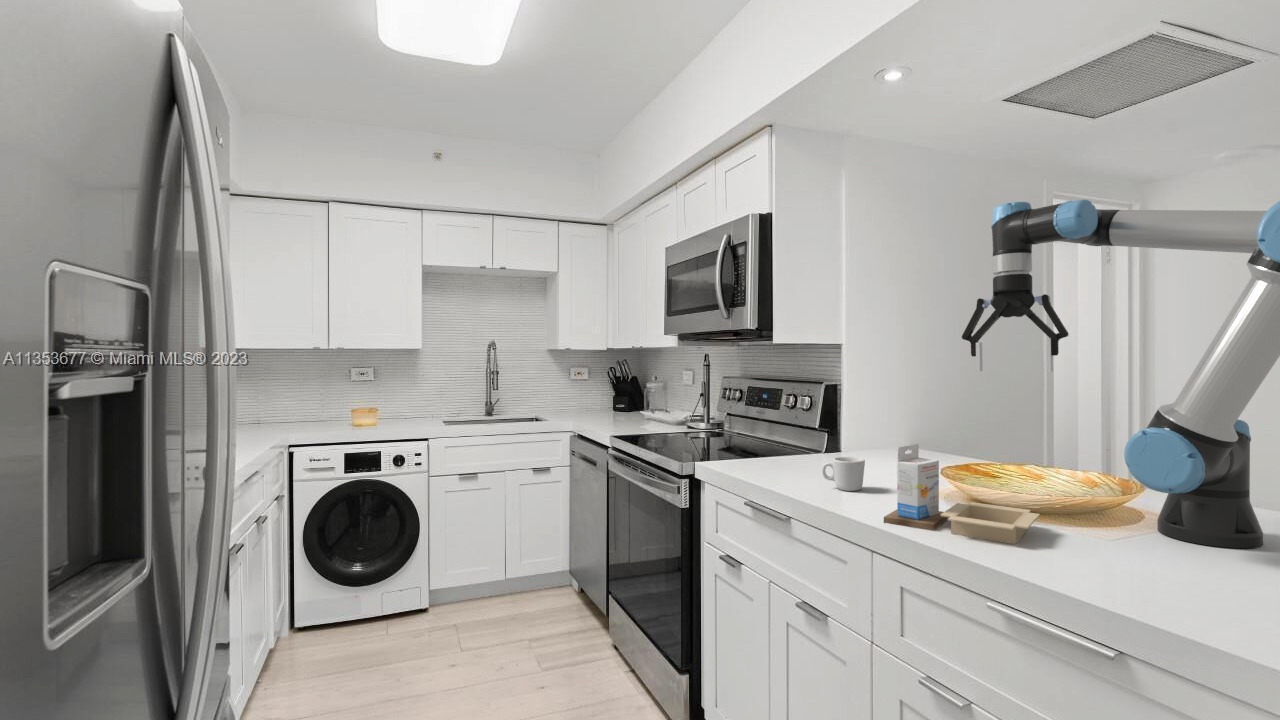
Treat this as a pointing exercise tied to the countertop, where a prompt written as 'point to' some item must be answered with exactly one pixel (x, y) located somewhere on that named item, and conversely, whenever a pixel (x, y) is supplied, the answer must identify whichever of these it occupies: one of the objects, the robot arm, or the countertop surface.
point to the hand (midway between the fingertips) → (1013, 371)
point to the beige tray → (990, 521)
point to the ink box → (917, 484)
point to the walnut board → (916, 521)
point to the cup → (846, 472)
